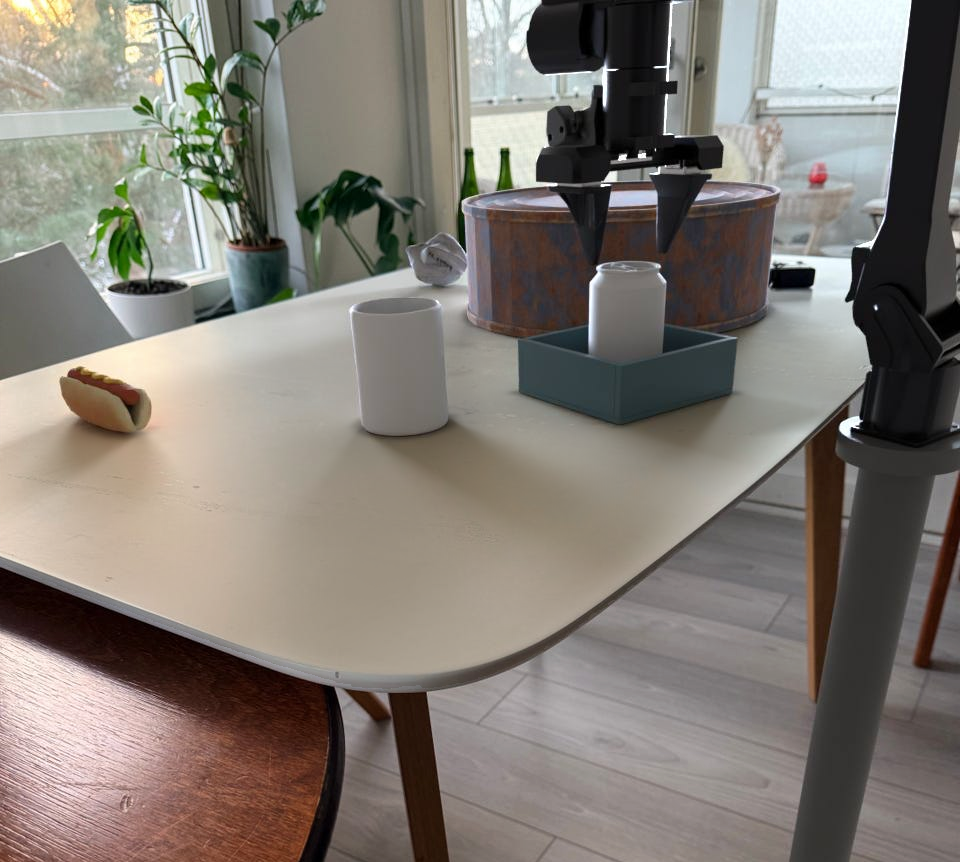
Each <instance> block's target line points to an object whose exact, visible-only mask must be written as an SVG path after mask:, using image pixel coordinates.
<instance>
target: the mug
mask: <svg viewBox="0 0 960 862" xmlns="http://www.w3.org/2000/svg"><path fill="white" fill-rule="evenodd" d="M349 318H350V327H351V336H352V345H353V356H354V363H355V371H356V372H355V373H356V380H357V381H356V382H357V390H358V391H357V392H358V400H359V410H360V411H359V412H360V421H361V425H362V428H363V429H364V430H365V431H367V432H369V433H372V434H374V435H380V436H387V437H388V436H389V437H407V436H415V435H421V434H426V433H430V432H434V431H437V430H438V429H441V428H442V427H444V426H445V425H446V424H447V423H448V421H449V403H448V390H447V376H446V361H445V345H444V343H445V342H444V329H443V312H442V304H441V302H440V301H439V300H437V299H434V298H429V297H420V296H400V297H399V296H398V297H397V296H396V297H395V296H394V297H385V298H384V297H383V298H377V299H376V298H375V299H371V300H365V301H361V302H359V303H355V304H353V305H352V306H351V307H350V309H349Z"/></svg>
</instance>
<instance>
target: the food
mask: <svg viewBox="0 0 960 862" xmlns="http://www.w3.org/2000/svg"><path fill="white" fill-rule="evenodd" d="M66 374H67V375H65V376H64V375H61V376H59V386H60V391H61V396H62V398H63V400H64V402H65V404H66V406H67V407H68V409H69V410H70V412H72V413H73V414H74V415H76V416H78V417H79V418H81V419H83V420H84V421H86V422H88V423H90V424H92V425H95V426H98V427H99V428H100V427H101V428H103V429H106V430H109V431H113V432H122V433H127V434H128V433H132V432H134V431H141V430H144V429H145V428H146V427H147V426H148V424H149V422H150V420H151V418H152V411H153V408H152V407H153V406H152V401H151V398H150V396H149V394H148V392H147V391H146V390H145V389H143V388H141V387H138V386H137V387H136V386H134V385H132V384H129V383H127V382H124V381H123V380H121V379H120V378H119V379H118V378H114V377H111V376H109V375H107V374H102V373H99V372H98V371H94V370H90V369H89V368H88V367H85V366H80V365H79V366H76V367H73V368H70V369H69V370H68V371H67V373H66Z"/></svg>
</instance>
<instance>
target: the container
mask: <svg viewBox="0 0 960 862" xmlns="http://www.w3.org/2000/svg"><path fill="white" fill-rule="evenodd" d="M601 185H612V189H611V195H610V201H609V208H608V213H607V220H606V226H605V232H604V238H603V244H602V250H601V254H600V258H599V262H598V265H596V266H591V265H588V264H587V261H586V258H585V255H584V252H583V248H582V245H581V242H580V239H579V236H578V233H577V229H576V226H575V223H574V220H573V218H572V215H571V213H570V211H569V208H568V206H567V204H566V203H565V202H564V201H563V200H562V198H561V197H560V196H559V195H558V194H557V193H556V192H550V191H549V190H548V188H547V185H542V186H541V185H539V186H531V187H530V186H529V187H521V188H512V189H504V190H498V191H491V192H485V193H480V194H475V195H473V196H469V197H465V199H463V200H461V211H462V213H463V215H464V228H465V230H464V232H465V251H466V252H465V254H466V256H467V268H466V272H467V293H468V294H467V295H468V296H467V297H468V303H467V304H466V316H467V318H468V321H469V322H471V323H472V324H473V325H475V326H476V327H479V328H482V329H484V330H487V331H489V332H493V333H497V334H502V335H506V336H511V337H517V338H526V337H530V336H535V335H540V334H545V333H550V332H554V331H559V330H564V329H569V328H574V327H578V326H583V325H588V324H589V297H590V282H591V281H592V279H593V278H594V277H595V276H596V275H597V273H598V271H597V269H596V267H597V266H599V265H601V264H605V263H610V262H621V261H644V262H653V263H657V264H659V265H660V266H661V268H660V269H659V273H660V274H661V275H662V277H663V278H664V279H665V281H666V282H667V283H666V300H665V317H664V323H666V324H671V325H676V326H681V327H686V328H691V329H696V330H701V331H706V332H711V333H716V334H719V333H723V332H726V331H730V330H735V329H739V328H742V327H746V326H748V325H750V324H753V323H755V322H757V321H760V320H761V319H762V318H764V317H765V316H766V315H767V313H768V310H769V306H770V305H769V304H770V298H769V297H768V291H769V283H770V282H769V281H770V273H771V263H772V256H773V255H772V254H773V247H774V237H775V227H776V218H777V210H778V204H779V203H780V201H781V197H782V188H780V187H778V186H776V185H771V184H766V183H758V182H757V183H756V182H748V181H733V180H707V181H706V182H705V184H704V186H703V187H702V189H701V191H700V193H699V194H698V196H697V198H696V199H695V201H694V203H693V204H692V206H691V208H690V210H689V212H688V214H687V216H686V217H685V219H684V221H683V223H682V225H681V227H680V229H679V231H678V233H677V235H676V237H675V239H674V241H673V243H672V245H671V247H670V249H669V251H668V253H667V254H659V253H658V251H657V237H656V233H657V191H656V189H655V187H654V185H653V183H652V181H651V180H624V181H623V180H622V181H601Z"/></svg>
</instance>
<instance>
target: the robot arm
mask: <svg viewBox="0 0 960 862" xmlns="http://www.w3.org/2000/svg"><path fill="white" fill-rule="evenodd" d="M694 1H695V0H540V4H538V5H537V6H536V7H535V9H534V11H533V13H532V14H531V17H530V20H529V22H528V23H529V24H528V29H527V30H526V33H525V42H526V43H525V44H526V50H527V55H528V58H529V61H530V63H531V65H532V66H533V68H534V70H535V71H536V72H538V73H539V74H541V75H542V76H543V75H544V76H555V75H569V74H581V73H582V74H583V73H585V74H586V73H595V72H598V71H599V70H601V69H602V84H593V86H592V90H591V92H590V103H589V107H587V108H585V109H581V110H579V109H578V110H574V108H573V107H572V106H571V105H569V104H567V105H554V106H553V107H552V108H551V109H549V110H548V111H546V123H545V132H546V133H545V135H546V139H547V144H548V146H542V148H541V149H540V151H539V153H538V155H537V157H536V159H535V183H548V184H547V185H546V186H547V188H548V190H549V191H550V192H556V193H557V194H558V195H559V196H560V197H561V198H562V200H563V201H564V202H565V203H566V204H567V206H568V208H569V211H570V213H571V215H572V218H573V220H574V223H575V226H576V229H577V233H578V236H579V239H580V242H581V245H582V248H583V252H584V255H585V258H586V261H587V264H588V265H591V266H596V265H598V262H599V258H600V254H601V250H602V244H603V238H604V232H605V226H606V220H607V213H608V208H609V201H610V195H611V189H612V185H601V182H605V180H606V178H607V177H608V176H609V174H610V173H611V172H612V173H613V172H621V171H630V170H631V171H632V170H641V169H649V168H655V169H657V170H658V172H654V173H649V174H648V176H649V179H650V181H652V183H653V185H654V187H655V189H656V191H657V233H656V237H657V251H658V253H659V254H667V253H668V251H669V249H670V247H671V245H672V243H673V241H674V239H675V237H676V235H677V233H678V231H679V229H680V227H681V225H682V223H683V221H684V219H685V217H686V216H687V214H688V212H689V210H690V208H691V206H692V204H693V203H694V201H695V199H696V198H697V196H698V194H699V193H700V191H701V189H702V187H703V186H704V184H705V182H706V181H712V179H713V176H714V175H713V174H714V173H711V172H703V171H708V170H717V169H723V161H724V150H725V146H724V143H723V142H722V141H721V139H720V137H719V136H718V134H689V135H688V134H687V135H686V134H683V135H682V134H681V135H676V134H675V133H666V123H667V121H666V120H667V103H668V101H667V100H668V95H678V87H679V80H669V67H670V66H669V65H670V49H671V48H670V47H671V31H672V30H671V29H672V28H671V27H672V13H673V11H672V10H673V5H676V4H683V3H685V4H686V3H692V2H694ZM907 11H908V12H907V20H906V27H905V29H906V30H905V36H904V43H903V54H902V61H901V62H902V63H901V70H900V79H899V87H898V95H897V104H896V113H895V119H894V120H895V122H894V129H893V137H892V147H891V153H890V155H891V156H890V164H889V172H888V181H887V188H886V196H885V197H886V198H885V204H884V205H885V206H884V214H883V218H882V221H881V223H880V226H879V228H878V230H877V233H876V235H875V237H874V239H873V240H872V241H869V242H866V243H862V244H859V245H856V246H853V247H852V249H851V256H850V265H851V266H850V267H851V281H850V286H849V289H848V292H847V294H846V295H845V297H844V303H846V304H847V303H850V302H852V304H851V310H852V320H853V322H854V326H855V327H856V328H858V329H859V330H860V332H861V333H862V334H863V335H864V337H865V342H866V348H867V354H868V360H869V364H870V366H871V370H868V372H866V373H865V377H864V384H863V390H862V396H861V401H860V407H859V413H858V416H859V419H860V420H862V421H861V422H858V423H855V424H853V425H851V428H850V431H852V432H855V433H859V434H863V435H866V436H870V437H874V438H878V439H881V440H885V441H889V442H893V443H897V444H900V445H904V446H908V447H912V448H922V447H924V446H927V445H930V444H932V443H935V442H937V441H940V440H943V439H945V438H948V437H950V436H953V435H956V434H958V433H960V426H957V425H953V424H952V422H954V418H955V413H956V408H957V404H958V399H959V395H960V359H958V358H956V356H958V355H960V299H959V297H958V295H957V292H958V291H957V290H958V279H957V273H958V272H957V248H956V244H955V239H954V235H953V231H952V226H951V221H950V216H949V215H950V213H949V212H950V211H949V209H950V201H951V196H952V195H951V194H952V189H953V188H952V187H953V181H954V175H955V167H956V160H957V155H958V149H959V148H958V147H959V146H958V145H959V140H960V0H908V10H907ZM640 151H644V153H642V154H640ZM620 155H621V156H620ZM550 183H551V184H550Z"/></svg>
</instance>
